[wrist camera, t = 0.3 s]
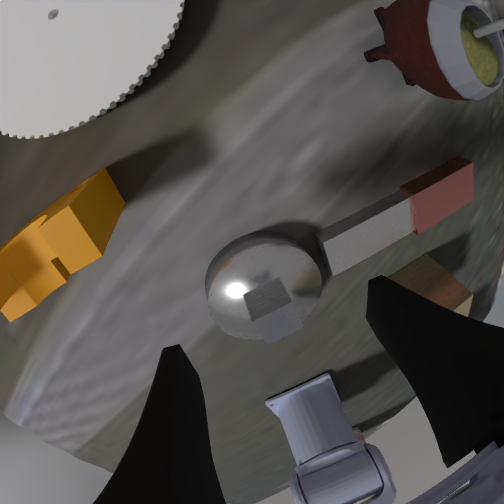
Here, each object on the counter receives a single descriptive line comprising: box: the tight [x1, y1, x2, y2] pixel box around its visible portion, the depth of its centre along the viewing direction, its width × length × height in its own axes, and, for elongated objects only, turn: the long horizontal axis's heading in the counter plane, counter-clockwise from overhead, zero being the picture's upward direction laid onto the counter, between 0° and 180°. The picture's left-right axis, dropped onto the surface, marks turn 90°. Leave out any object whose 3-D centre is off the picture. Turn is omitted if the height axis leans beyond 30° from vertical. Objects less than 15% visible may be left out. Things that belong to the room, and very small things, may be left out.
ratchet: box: [205, 156, 474, 345], centre depth 19 cm, size 8×25×5 cm, turn 113°
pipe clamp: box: [0, 168, 126, 322], centre depth 13 cm, size 12×4×6 cm, turn 112°
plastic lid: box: [0, 0, 185, 139], centre depth 9 cm, size 14×14×2 cm
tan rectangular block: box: [387, 254, 473, 317], centre depth 23 cm, size 5×5×7 cm
